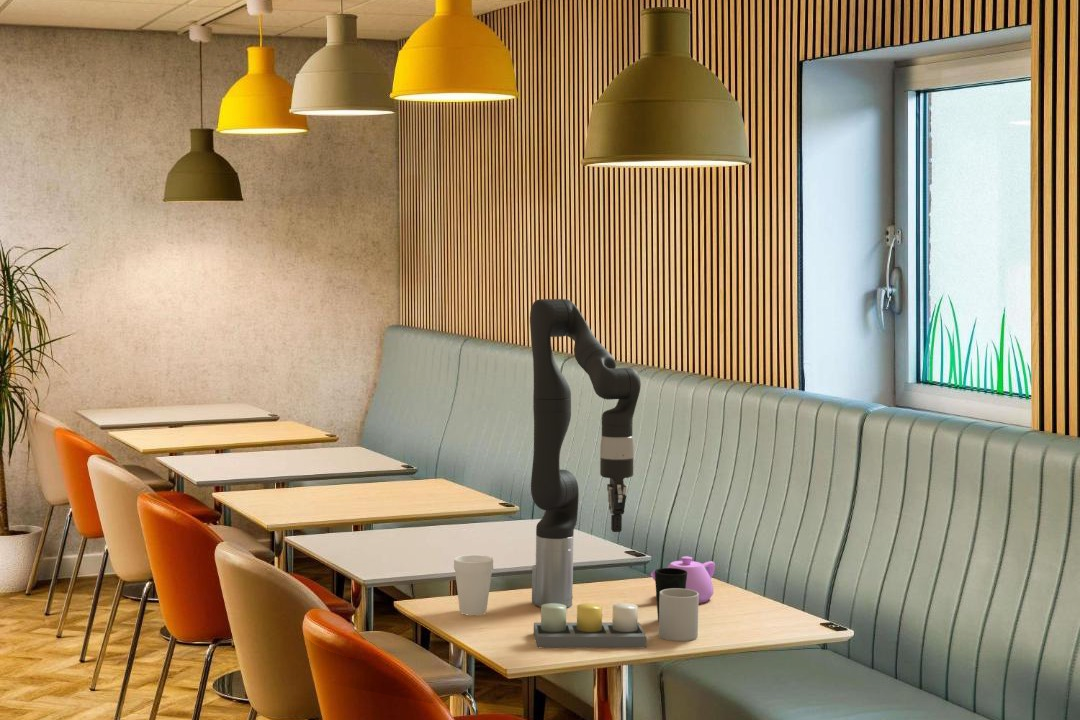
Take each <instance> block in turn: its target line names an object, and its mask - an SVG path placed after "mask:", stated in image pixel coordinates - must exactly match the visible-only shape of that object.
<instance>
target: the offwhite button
mask: <svg viewBox="0 0 1080 720" xmlns="http://www.w3.org/2000/svg"><path fill="white" fill-rule="evenodd" d="M638 612H639V606H638V605H637V604H632V603H627V602H626V603H615V604H612V629H613V630H616V631H621V632H632V631H636V630H637V625H638V621H639V620H638V619H639V613H638Z"/></svg>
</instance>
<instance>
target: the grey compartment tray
mask: <svg viewBox="0 0 1080 720" xmlns="http://www.w3.org/2000/svg"><path fill="white" fill-rule="evenodd" d="M533 636H535V637H534V640H536V641H535V645H536V648H537V647H538V648H537V649H540V648H539V647H544V648H543V649H586V648H587V649H596V648H598V649H599V648H600V649H603V648H605V649H606V648H607V649H608V648H609V649H611V648H613V649H619V648H620V649H622V648H623V649H625V648H626V649H629V648H631V649H632V648H633V649H638V648H639V649H641V648H642V649H644V648H645V649H646V648H647V635H646V633H645V631H644V629H643V627H642V625H641V623H640V622H638V625H637V630H636V631H632V632H621V631H616V630H613V629H612V622H603V621H602V630H600V631H596V632H585V631H580V630H578V629H577V622H566V630H564V631H560V632H549V631H544V630H542V629H541V622H533Z"/></svg>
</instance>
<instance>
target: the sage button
mask: <svg viewBox="0 0 1080 720" xmlns="http://www.w3.org/2000/svg"><path fill="white" fill-rule="evenodd" d="M540 609H541V610H540V613H541V615H540V623H541V629H542V630H544V631H549V632H560V631H564V630H566V623H567V607H566V605H563V604H557V603H549V604H543V605H542V606H541V607H540Z"/></svg>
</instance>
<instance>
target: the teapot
mask: <svg viewBox="0 0 1080 720" xmlns="http://www.w3.org/2000/svg"><path fill="white" fill-rule="evenodd" d="M680 559H681V560H675V561H672V562H670V563H669V565H668V566H667V567H666V568H677V569H682V570H685V571H687V581H686V589H689V590H694V591H696V592H698V593H699V604H703V603H707V602H708V601H709V600H710V599H711V598H712V596H713V595H714V584H713V580H712V578H713V575H714V573H715V569H716V564H715V562H714V561H711V560H710V561H709V560H708V561H706V562H704V563H701V562H699V561H694V560H693V557H692V556H687V555H686V556H681V558H680ZM650 576H651V577H652V579H653V580H654V581H655V570H653V571H652V572H651V573H650Z"/></svg>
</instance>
